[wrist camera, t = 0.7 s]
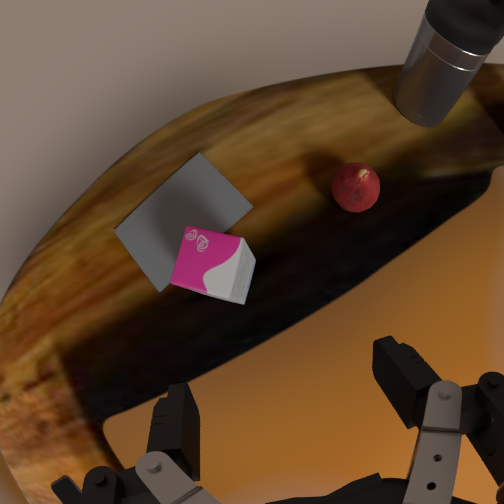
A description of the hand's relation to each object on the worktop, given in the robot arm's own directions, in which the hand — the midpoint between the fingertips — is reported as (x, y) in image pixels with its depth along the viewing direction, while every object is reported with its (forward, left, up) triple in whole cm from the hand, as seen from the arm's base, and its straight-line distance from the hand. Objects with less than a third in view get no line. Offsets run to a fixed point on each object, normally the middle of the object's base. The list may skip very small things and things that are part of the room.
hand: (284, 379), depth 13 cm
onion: (-18, -7, -26) cm, 32 cm away
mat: (0, -20, -26) cm, 32 cm away
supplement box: (0, -10, -26) cm, 28 cm away
